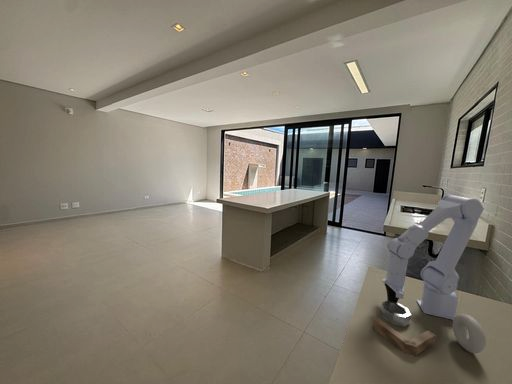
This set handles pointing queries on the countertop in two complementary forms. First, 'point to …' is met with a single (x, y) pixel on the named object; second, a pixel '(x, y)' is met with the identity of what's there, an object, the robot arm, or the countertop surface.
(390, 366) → the countertop surface
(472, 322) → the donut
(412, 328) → the countertop surface
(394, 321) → the ring
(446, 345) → the countertop surface
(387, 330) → the vee stop
